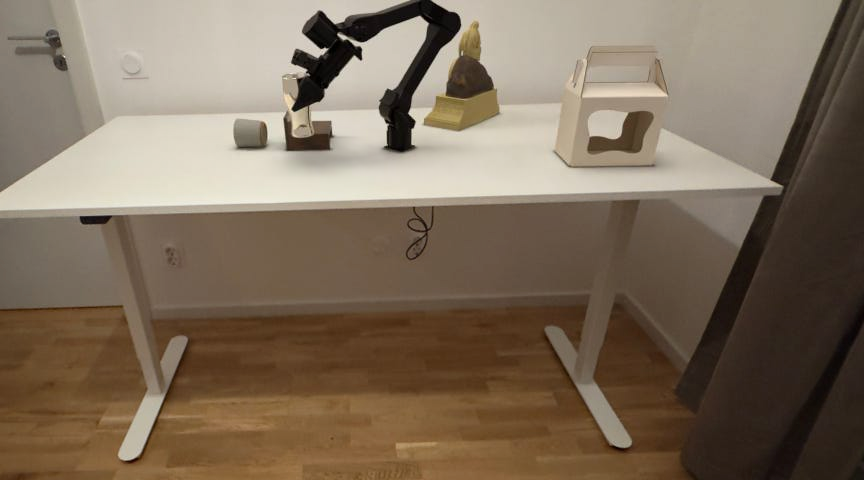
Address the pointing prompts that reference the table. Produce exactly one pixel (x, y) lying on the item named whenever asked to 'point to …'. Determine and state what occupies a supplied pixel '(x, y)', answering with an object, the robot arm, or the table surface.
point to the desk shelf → (312, 142)
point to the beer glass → (291, 91)
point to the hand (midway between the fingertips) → (294, 107)
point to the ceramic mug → (250, 133)
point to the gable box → (632, 97)
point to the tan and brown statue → (465, 88)
